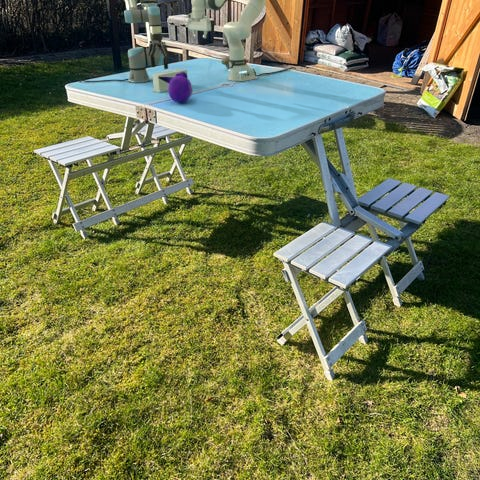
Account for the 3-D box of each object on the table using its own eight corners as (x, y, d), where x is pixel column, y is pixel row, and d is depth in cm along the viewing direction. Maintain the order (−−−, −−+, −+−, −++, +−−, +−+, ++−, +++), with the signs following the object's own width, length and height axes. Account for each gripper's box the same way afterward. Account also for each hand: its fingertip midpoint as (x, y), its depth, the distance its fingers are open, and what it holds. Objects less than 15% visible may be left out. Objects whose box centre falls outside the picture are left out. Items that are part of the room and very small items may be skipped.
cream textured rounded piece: (225, 72, 364) (224, 52, 356) (218, 70, 372) (217, 50, 365) (247, 69, 373) (247, 50, 365) (240, 67, 381) (240, 48, 374)
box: (159, 92, 304) (158, 75, 299) (154, 91, 308) (152, 74, 302) (188, 86, 320) (187, 69, 315) (182, 85, 324) (181, 68, 318)
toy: (182, 94, 297) (192, 108, 276) (156, 89, 290) (164, 103, 269) (187, 69, 289) (197, 82, 268) (160, 64, 282) (169, 77, 261)
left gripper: (173, 33, 286) (176, 68, 296) (149, 31, 300) (152, 65, 311) (163, 34, 281) (167, 70, 292) (139, 32, 296) (143, 66, 306)
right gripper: (212, 15, 300) (213, 38, 307) (192, 14, 312) (193, 36, 319) (205, 16, 296) (207, 39, 303) (185, 15, 308) (187, 37, 315)
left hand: (159, 67), depth 301 cm, fingers open, 13 cm apart
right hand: (200, 37), depth 311 cm, fingers open, 8 cm apart
